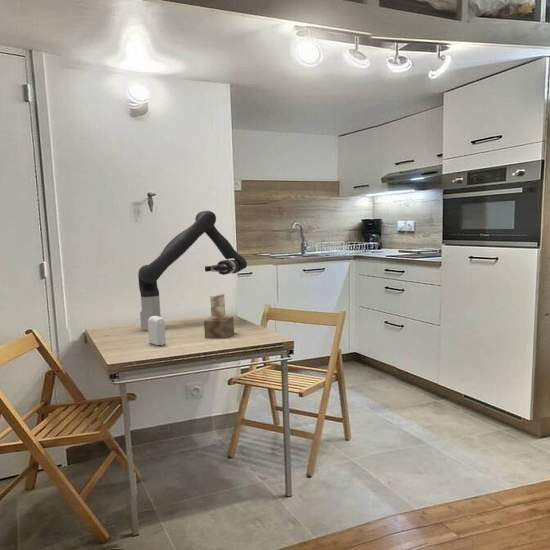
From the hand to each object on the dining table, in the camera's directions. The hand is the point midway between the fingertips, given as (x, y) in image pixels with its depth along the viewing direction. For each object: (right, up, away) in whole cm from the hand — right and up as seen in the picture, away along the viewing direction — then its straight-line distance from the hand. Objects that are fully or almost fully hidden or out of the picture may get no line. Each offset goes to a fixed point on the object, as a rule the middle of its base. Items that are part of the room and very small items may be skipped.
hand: (213, 269), depth 232 cm
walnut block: (+5, -31, -15) cm, 35 cm away
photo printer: (-21, -33, -28) cm, 48 cm away
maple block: (+4, -23, -15) cm, 28 cm away
